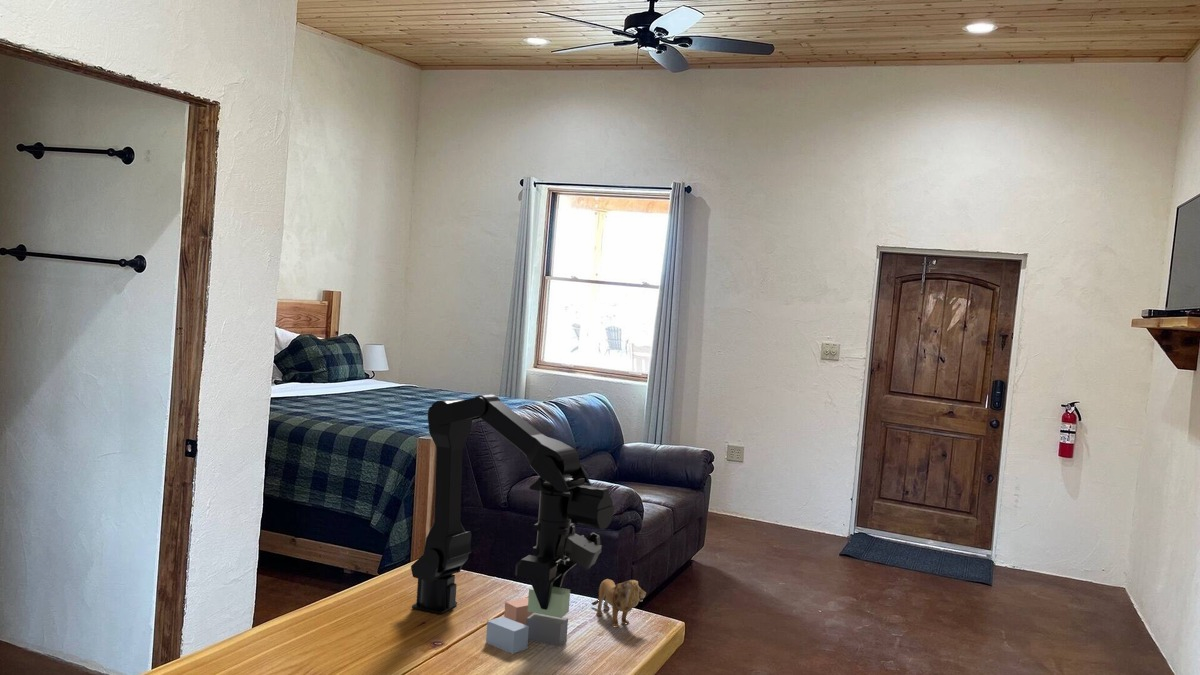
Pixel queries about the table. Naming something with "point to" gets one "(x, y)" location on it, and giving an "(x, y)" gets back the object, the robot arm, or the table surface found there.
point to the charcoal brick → (547, 629)
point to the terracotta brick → (517, 610)
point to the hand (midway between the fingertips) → (548, 605)
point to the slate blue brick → (507, 634)
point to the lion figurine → (619, 598)
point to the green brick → (551, 602)
